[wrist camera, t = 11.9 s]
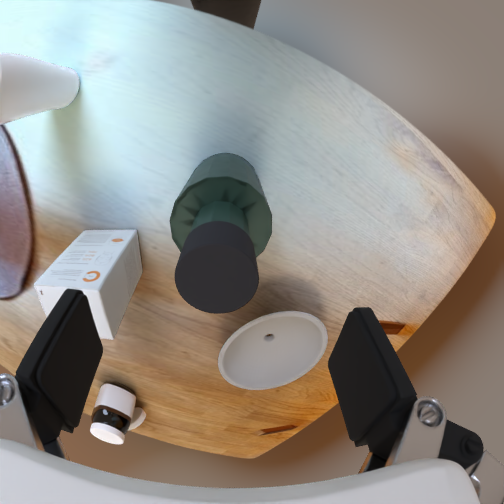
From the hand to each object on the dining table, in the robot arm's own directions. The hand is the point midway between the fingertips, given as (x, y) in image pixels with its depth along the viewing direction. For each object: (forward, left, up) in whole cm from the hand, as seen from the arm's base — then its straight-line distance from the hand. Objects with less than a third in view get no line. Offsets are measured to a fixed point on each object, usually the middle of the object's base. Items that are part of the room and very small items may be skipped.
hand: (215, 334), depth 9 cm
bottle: (+1, -1, -24) cm, 24 cm away
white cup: (-20, -13, -24) cm, 34 cm away
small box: (+2, -18, -24) cm, 30 cm away
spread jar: (+30, -40, -24) cm, 55 cm away
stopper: (+1, -1, -12) cm, 12 cm away
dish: (+24, -5, -24) cm, 35 cm away
